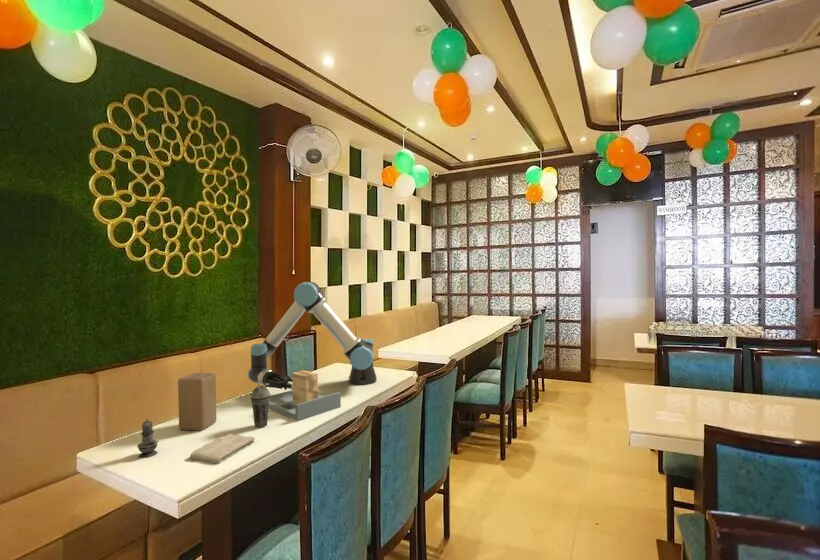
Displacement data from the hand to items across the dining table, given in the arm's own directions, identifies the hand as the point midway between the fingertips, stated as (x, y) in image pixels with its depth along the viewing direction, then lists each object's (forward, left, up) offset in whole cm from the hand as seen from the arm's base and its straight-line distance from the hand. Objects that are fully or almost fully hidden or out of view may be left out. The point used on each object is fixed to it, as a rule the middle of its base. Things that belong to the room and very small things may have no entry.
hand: (296, 387), depth 182 cm
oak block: (-1, +5, -6) cm, 8 cm away
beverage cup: (+22, +9, -9) cm, 26 cm away
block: (+38, -10, -9) cm, 41 cm away
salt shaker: (+59, +3, -9) cm, 60 cm away
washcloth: (+41, +20, -9) cm, 47 cm away
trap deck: (-1, 0, -8) cm, 8 cm away
